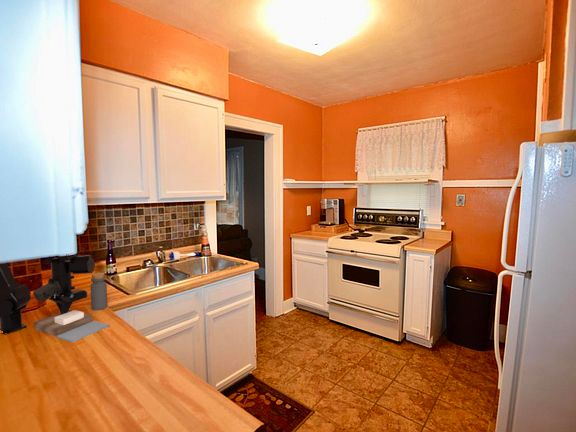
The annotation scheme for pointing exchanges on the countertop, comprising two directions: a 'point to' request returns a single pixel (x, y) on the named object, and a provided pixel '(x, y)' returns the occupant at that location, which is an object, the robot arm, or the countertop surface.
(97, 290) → the bottle
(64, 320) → the pale pink rectangular block
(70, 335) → the mat
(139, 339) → the countertop surface
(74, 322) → the step
